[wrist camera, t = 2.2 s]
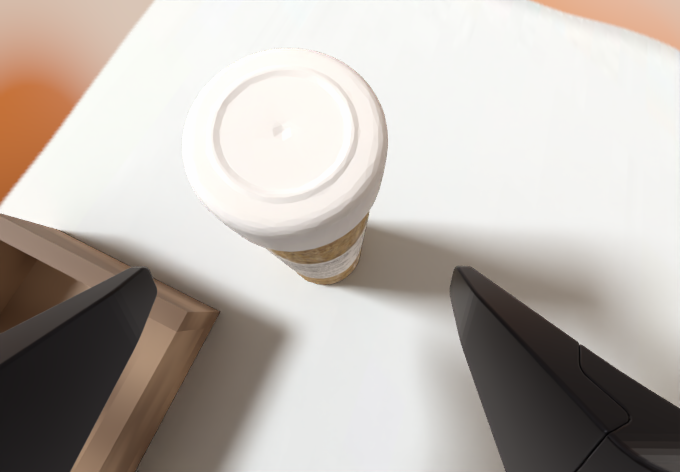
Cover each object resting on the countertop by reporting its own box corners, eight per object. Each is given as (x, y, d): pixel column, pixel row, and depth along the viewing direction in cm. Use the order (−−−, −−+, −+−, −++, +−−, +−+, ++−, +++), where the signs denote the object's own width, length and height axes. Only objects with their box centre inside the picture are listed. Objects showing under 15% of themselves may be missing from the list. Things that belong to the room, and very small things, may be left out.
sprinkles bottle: (303, 204, 20) (225, 16, 7) (371, 226, 20) (417, 67, 7) (277, 272, 20) (135, 195, 6) (348, 297, 19) (351, 266, 6)
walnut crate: (105, 526, 17) (31, 592, 13) (-71, 417, 18) (-186, 447, 14) (220, 311, 19) (187, 311, 15) (57, 229, 20) (-11, 210, 17)
